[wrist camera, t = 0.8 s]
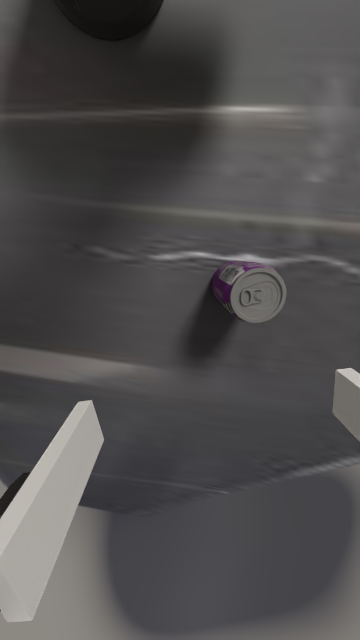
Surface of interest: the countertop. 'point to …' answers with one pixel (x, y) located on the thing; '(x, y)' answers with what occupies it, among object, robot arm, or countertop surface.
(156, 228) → the countertop surface
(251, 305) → the beverage can
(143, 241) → the countertop surface
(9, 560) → the robot arm
